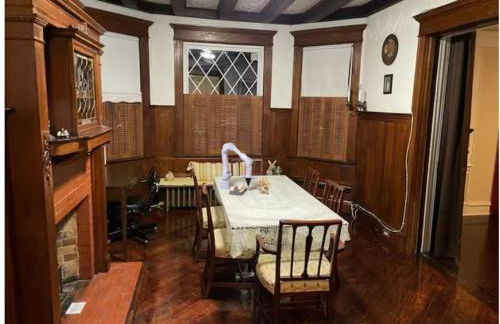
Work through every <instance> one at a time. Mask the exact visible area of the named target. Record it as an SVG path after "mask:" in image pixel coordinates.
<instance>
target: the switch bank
mask: <svg viewBox="0 0 500 324" xmlns="http://www.w3.org/2000/svg"><path fill="white" fill-rule="evenodd" d="M238 186H239V185H237V186H234V187H235V190H234V191H231V190H230V189H229V191H228V193H229V195H232V196H240V197H241V196H242V195H244V194H245V193H246V192H248V191H247V190H248V186H244V188H242V189H238Z"/></svg>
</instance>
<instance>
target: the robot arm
mask: <svg viewBox="0 0 500 324" xmlns="http://www.w3.org/2000/svg"><path fill="white" fill-rule="evenodd" d="M230 151H233V152H234V153H235V154H236V155H238V156H239V159H240V160H242V161H243V162H244V164H245V175H240V179H244V180H245V182H246V187H250V185H251V181H252V180H253V179H254V180H256V179H257V176H253V174H252V173H253V172H252V171H253V164H254V160H253V159H252V158H250V157H249V156H248V155H246V153H244V152H241V150H240V149H238V147H237V146H236V145H235V144H234V143H232V142H228V143H224V144H223V145H222V149H221V159H222V167H223V168H222V172H221V179H220V183H219V189H220V190H230V189H231V178H232V176H233V175H232V174H233V173H232V171H231V170H230V166H229V158H228V153H229V152H230Z"/></svg>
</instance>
